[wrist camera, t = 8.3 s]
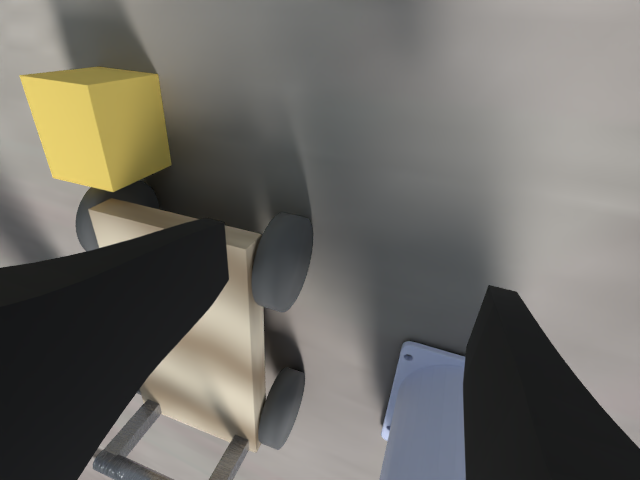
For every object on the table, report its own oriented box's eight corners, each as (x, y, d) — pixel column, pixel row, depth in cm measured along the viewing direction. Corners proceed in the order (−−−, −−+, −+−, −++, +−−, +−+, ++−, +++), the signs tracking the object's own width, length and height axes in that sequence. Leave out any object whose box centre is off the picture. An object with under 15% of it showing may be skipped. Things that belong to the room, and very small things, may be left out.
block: (172, 164, 22) (113, 192, 19) (118, 153, 23) (52, 177, 20) (159, 74, 20) (87, 85, 16) (99, 66, 21) (19, 75, 17)
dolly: (303, 403, 29) (237, 547, 21) (168, 354, 32) (67, 464, 24) (315, 202, 20) (209, 318, 12) (128, 163, 23) (-52, 235, 15)
